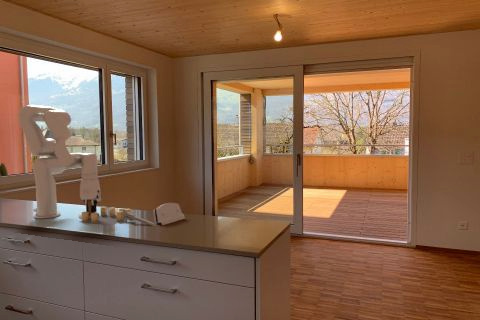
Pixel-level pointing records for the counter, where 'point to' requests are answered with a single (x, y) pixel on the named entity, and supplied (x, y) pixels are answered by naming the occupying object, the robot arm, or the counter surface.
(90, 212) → the brown inverted t block
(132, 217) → the caliper
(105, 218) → the spacer jig
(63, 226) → the counter surface
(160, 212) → the beige flat slab
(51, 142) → the robot arm
